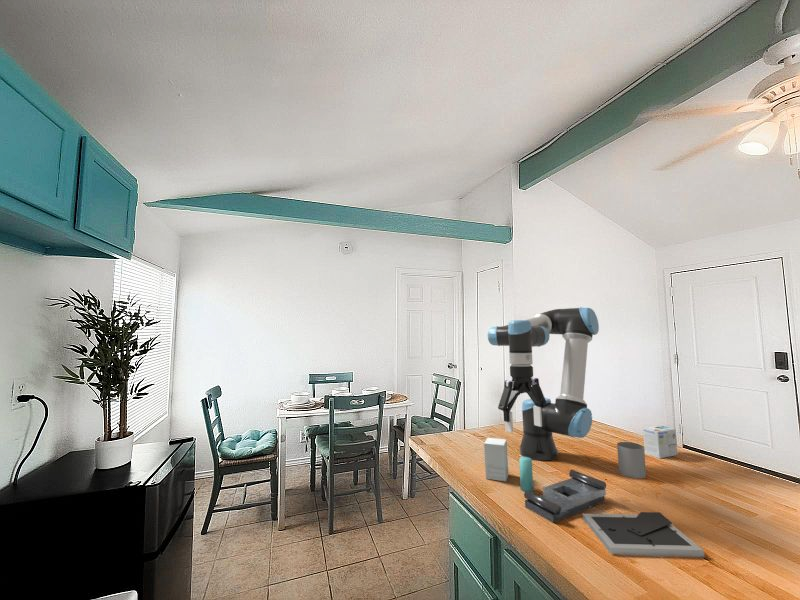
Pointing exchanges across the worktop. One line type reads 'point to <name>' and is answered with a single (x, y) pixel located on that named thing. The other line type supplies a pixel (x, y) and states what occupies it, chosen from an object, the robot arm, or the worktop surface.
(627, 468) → the cup
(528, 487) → the pin
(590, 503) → the plate with side rollers
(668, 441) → the light bulb box
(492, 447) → the supplement box
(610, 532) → the picture frame
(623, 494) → the worktop surface
